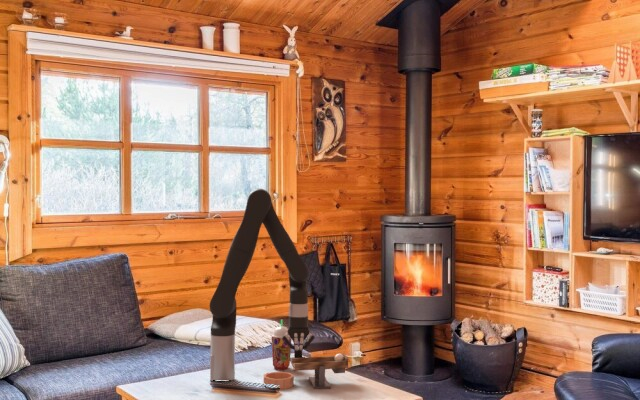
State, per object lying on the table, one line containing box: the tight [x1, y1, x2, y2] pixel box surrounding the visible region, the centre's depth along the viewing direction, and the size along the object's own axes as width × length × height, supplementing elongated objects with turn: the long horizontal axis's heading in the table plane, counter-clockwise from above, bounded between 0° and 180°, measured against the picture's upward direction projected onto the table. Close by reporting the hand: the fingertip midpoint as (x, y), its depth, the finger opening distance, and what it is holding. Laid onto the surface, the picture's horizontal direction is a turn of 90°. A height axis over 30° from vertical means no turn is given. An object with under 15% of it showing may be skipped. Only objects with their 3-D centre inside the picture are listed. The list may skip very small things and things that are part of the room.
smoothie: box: [270, 319, 292, 371], centre depth 294 cm, size 8×8×20 cm
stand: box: [308, 366, 331, 390], centre depth 271 cm, size 6×14×8 cm, turn 9°
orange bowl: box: [262, 371, 295, 390], centre depth 268 cm, size 11×11×4 cm
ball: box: [334, 353, 344, 361], centre depth 272 cm, size 4×4×4 cm
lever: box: [290, 353, 349, 374], centre depth 275 cm, size 20×17×5 cm
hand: (298, 359), depth 278 cm, fingers closed
